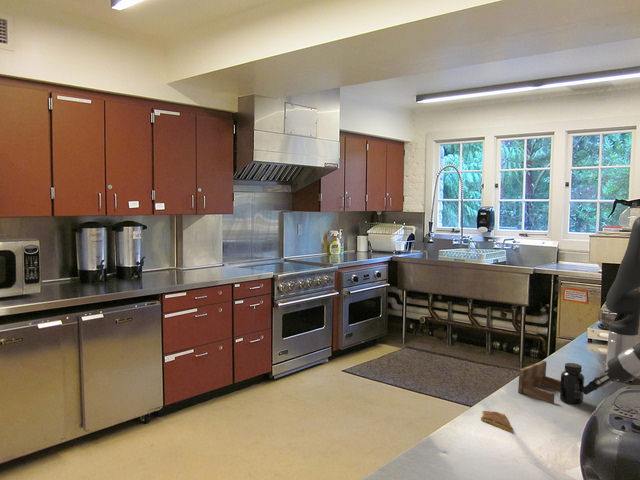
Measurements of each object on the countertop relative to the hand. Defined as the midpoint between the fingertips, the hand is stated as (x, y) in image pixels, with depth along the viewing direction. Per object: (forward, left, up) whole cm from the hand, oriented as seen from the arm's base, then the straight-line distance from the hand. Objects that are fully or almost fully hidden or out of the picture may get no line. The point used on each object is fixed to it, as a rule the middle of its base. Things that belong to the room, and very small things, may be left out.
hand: (584, 391), depth 160 cm
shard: (+33, -9, -5) cm, 34 cm away
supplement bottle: (0, -4, -5) cm, 6 cm away
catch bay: (0, -11, -4) cm, 12 cm away
